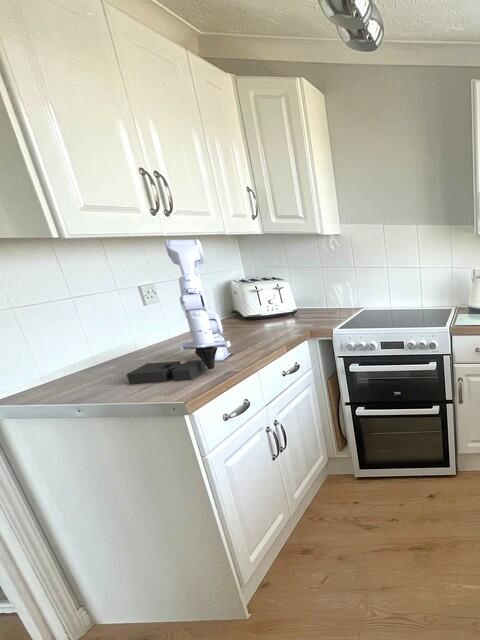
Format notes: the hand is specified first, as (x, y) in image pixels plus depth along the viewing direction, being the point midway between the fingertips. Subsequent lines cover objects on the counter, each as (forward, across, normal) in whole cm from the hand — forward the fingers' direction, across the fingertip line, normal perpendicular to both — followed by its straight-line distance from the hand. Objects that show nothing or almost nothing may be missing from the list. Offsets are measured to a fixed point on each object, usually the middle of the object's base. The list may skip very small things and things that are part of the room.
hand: (211, 368), depth 144 cm
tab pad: (+2, -8, 0) cm, 8 cm away
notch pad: (+2, -16, 0) cm, 16 cm away
